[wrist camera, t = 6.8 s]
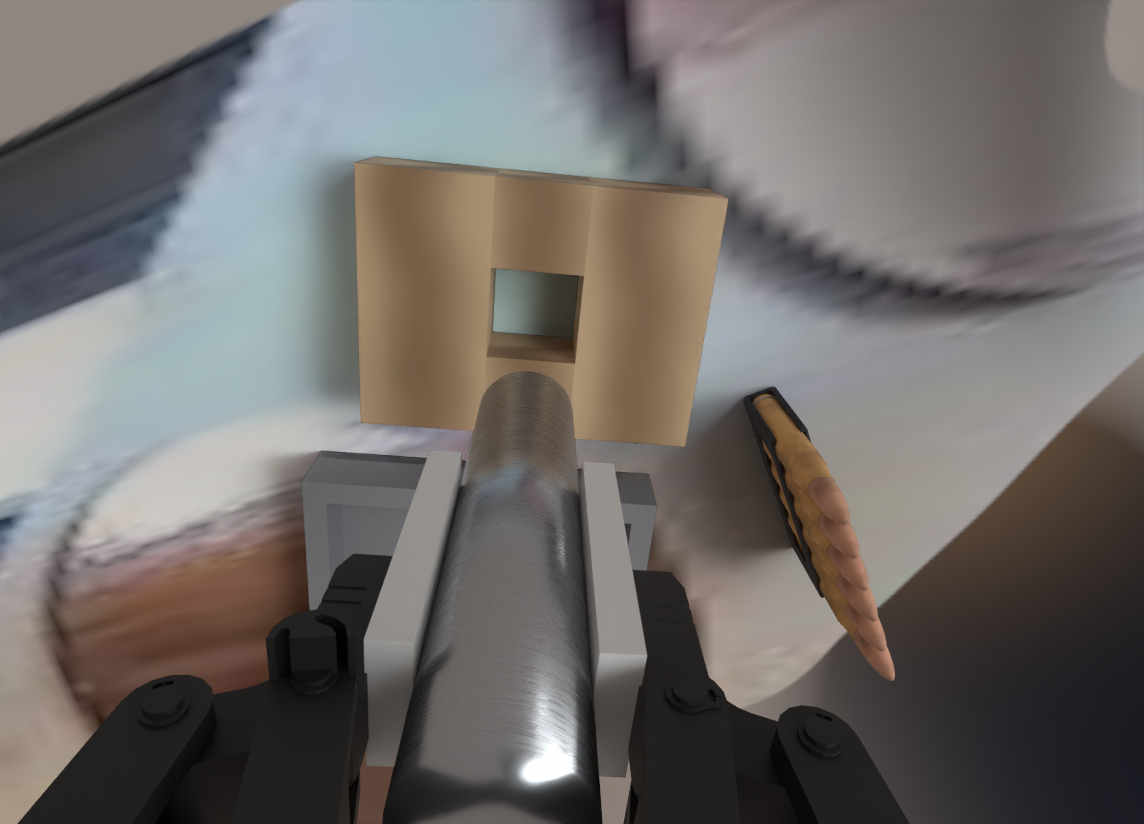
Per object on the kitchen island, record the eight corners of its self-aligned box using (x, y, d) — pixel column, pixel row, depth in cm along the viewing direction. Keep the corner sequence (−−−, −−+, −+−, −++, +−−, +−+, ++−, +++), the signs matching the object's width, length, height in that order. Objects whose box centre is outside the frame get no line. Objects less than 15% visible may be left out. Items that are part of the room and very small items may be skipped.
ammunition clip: (742, 397, 39) (818, 512, 28) (774, 385, 39) (864, 496, 28) (792, 548, 43) (876, 700, 32) (822, 537, 43) (917, 688, 32)
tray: (648, 474, 41) (657, 505, 37) (614, 691, 47) (619, 734, 44) (321, 450, 39) (301, 481, 36) (333, 676, 46) (316, 719, 43)
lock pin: (577, 375, 22) (615, 753, 9) (568, 460, 23) (590, 900, 10) (480, 367, 22) (382, 741, 9) (476, 454, 23) (383, 893, 10)
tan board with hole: (709, 188, 34) (728, 198, 31) (672, 414, 39) (684, 446, 35) (375, 156, 33) (354, 162, 30) (378, 391, 38) (360, 422, 34)
